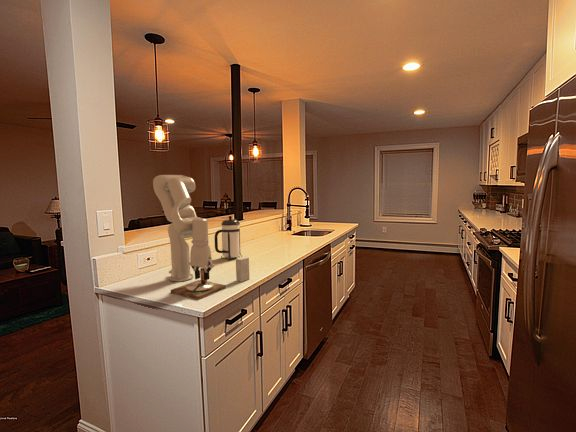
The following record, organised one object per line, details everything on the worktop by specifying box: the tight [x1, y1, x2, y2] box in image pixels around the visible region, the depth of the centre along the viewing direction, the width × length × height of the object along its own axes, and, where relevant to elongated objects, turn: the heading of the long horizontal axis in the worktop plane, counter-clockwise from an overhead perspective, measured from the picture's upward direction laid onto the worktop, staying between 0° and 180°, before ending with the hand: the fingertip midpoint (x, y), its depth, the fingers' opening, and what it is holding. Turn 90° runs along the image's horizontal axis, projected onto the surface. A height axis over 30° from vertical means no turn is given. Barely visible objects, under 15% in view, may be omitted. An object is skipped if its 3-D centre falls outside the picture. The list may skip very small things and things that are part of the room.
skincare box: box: [235, 256, 250, 283], centre depth 169 cm, size 6×4×12 cm
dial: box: [186, 267, 215, 292], centre depth 151 cm, size 15×13×8 cm
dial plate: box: [170, 279, 227, 300], centre depth 153 cm, size 19×18×2 cm
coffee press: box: [214, 215, 243, 261], centre depth 219 cm, size 17×16×30 cm
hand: (202, 278), depth 157 cm, fingers open, 5 cm apart
